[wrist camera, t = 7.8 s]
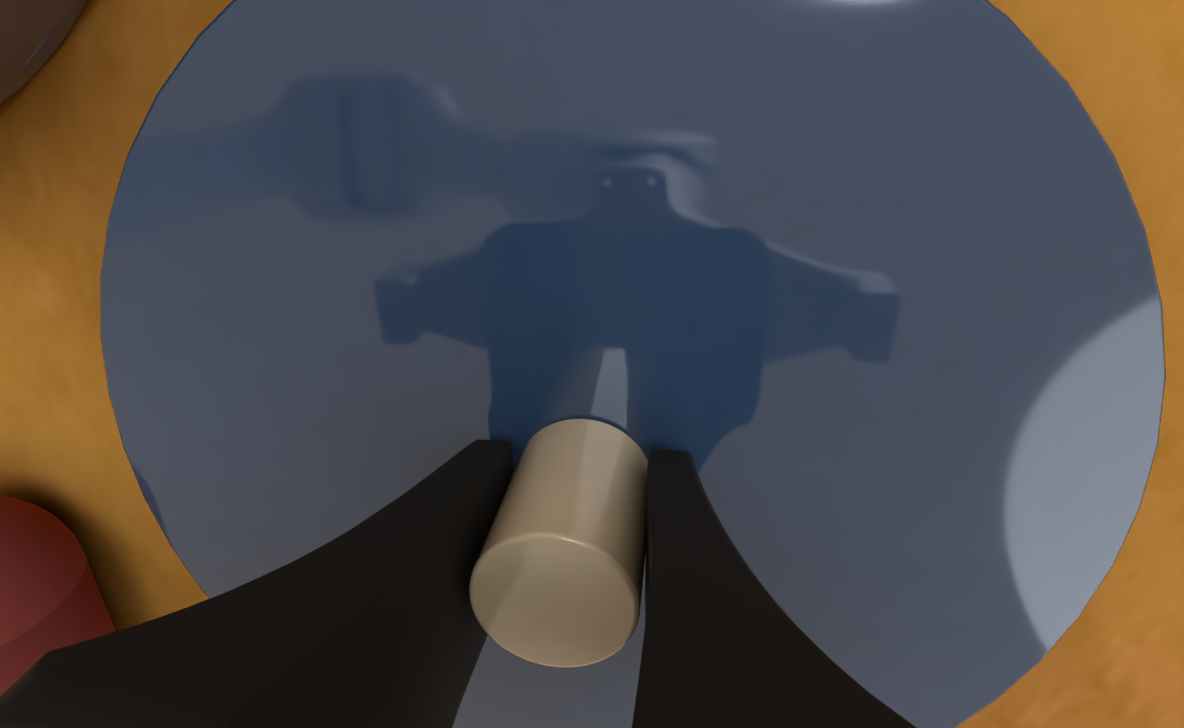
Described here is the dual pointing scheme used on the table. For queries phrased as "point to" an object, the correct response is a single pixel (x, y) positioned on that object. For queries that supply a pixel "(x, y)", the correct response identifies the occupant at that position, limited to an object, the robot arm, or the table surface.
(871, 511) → the lid
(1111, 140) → the table surface
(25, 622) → the sweet potato
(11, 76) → the dark blue bowl
